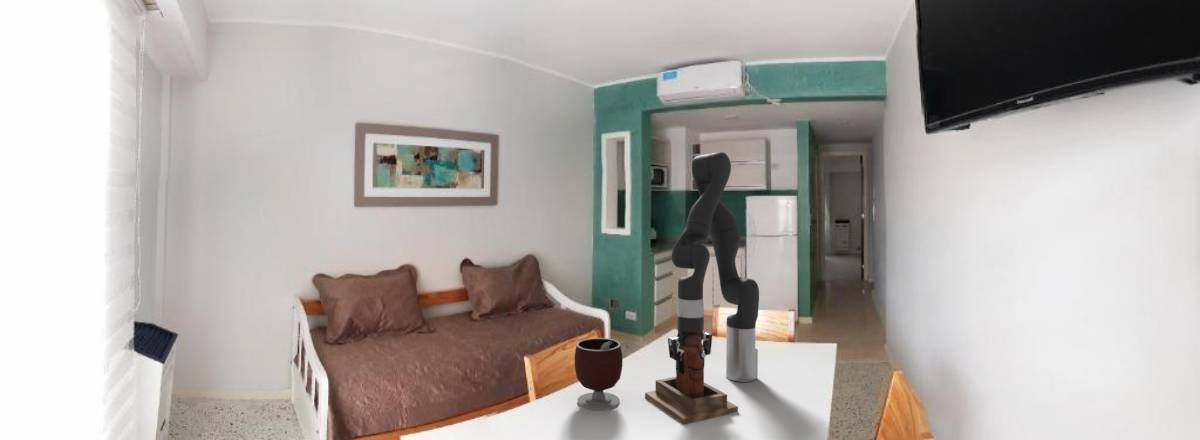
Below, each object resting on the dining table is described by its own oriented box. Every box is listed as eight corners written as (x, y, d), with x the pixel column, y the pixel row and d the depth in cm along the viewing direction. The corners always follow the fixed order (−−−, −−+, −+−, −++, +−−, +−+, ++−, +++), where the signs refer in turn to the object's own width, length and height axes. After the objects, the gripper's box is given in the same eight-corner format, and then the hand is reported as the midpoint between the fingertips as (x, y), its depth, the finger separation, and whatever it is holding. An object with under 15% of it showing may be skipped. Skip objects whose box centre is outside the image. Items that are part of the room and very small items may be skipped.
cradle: (694, 387, 157) (695, 371, 157) (738, 411, 139) (738, 394, 139) (645, 397, 149) (645, 380, 149) (683, 424, 131) (683, 405, 131)
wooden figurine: (710, 401, 139) (711, 336, 139) (689, 403, 138) (690, 338, 137) (690, 386, 151) (691, 326, 150) (671, 388, 149) (672, 328, 148)
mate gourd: (568, 397, 150) (567, 330, 149) (610, 390, 155) (610, 326, 154) (587, 417, 135) (587, 344, 135) (633, 409, 141) (633, 338, 140)
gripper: (702, 308, 150) (702, 364, 150) (661, 313, 144) (661, 371, 144) (719, 313, 143) (718, 372, 144) (676, 319, 137) (676, 379, 137)
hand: (690, 371), depth 144 cm, fingers closed on wooden figurine, 6 cm apart
